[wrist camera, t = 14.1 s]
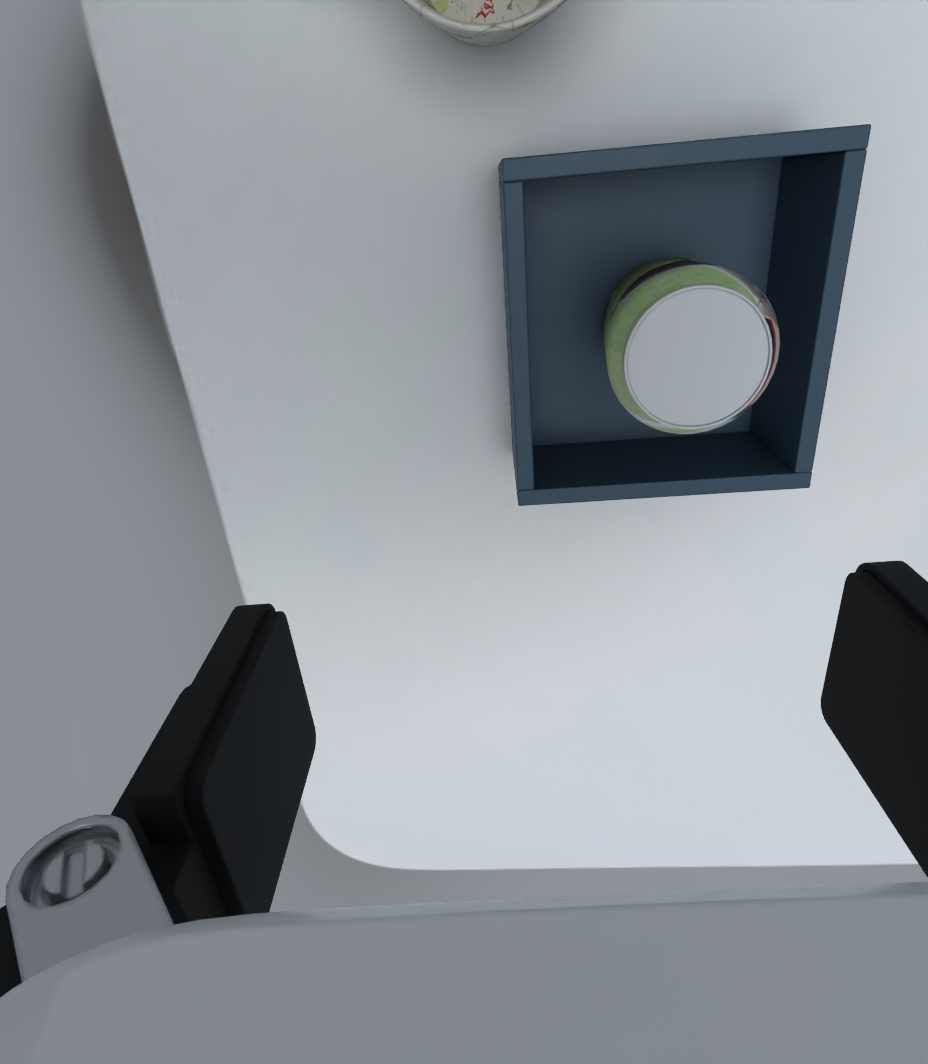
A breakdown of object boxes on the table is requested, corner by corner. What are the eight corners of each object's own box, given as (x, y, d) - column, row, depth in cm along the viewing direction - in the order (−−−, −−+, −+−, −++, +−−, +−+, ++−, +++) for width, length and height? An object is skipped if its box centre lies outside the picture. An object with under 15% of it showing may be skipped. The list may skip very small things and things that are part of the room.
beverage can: (694, 389, 35) (785, 478, 24) (559, 359, 35) (592, 436, 24) (741, 265, 32) (868, 303, 22) (595, 229, 32) (652, 251, 21)
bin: (498, 164, 31) (501, 158, 25) (795, 136, 30) (872, 123, 24) (512, 455, 38) (518, 506, 32) (756, 439, 37) (809, 488, 31)
